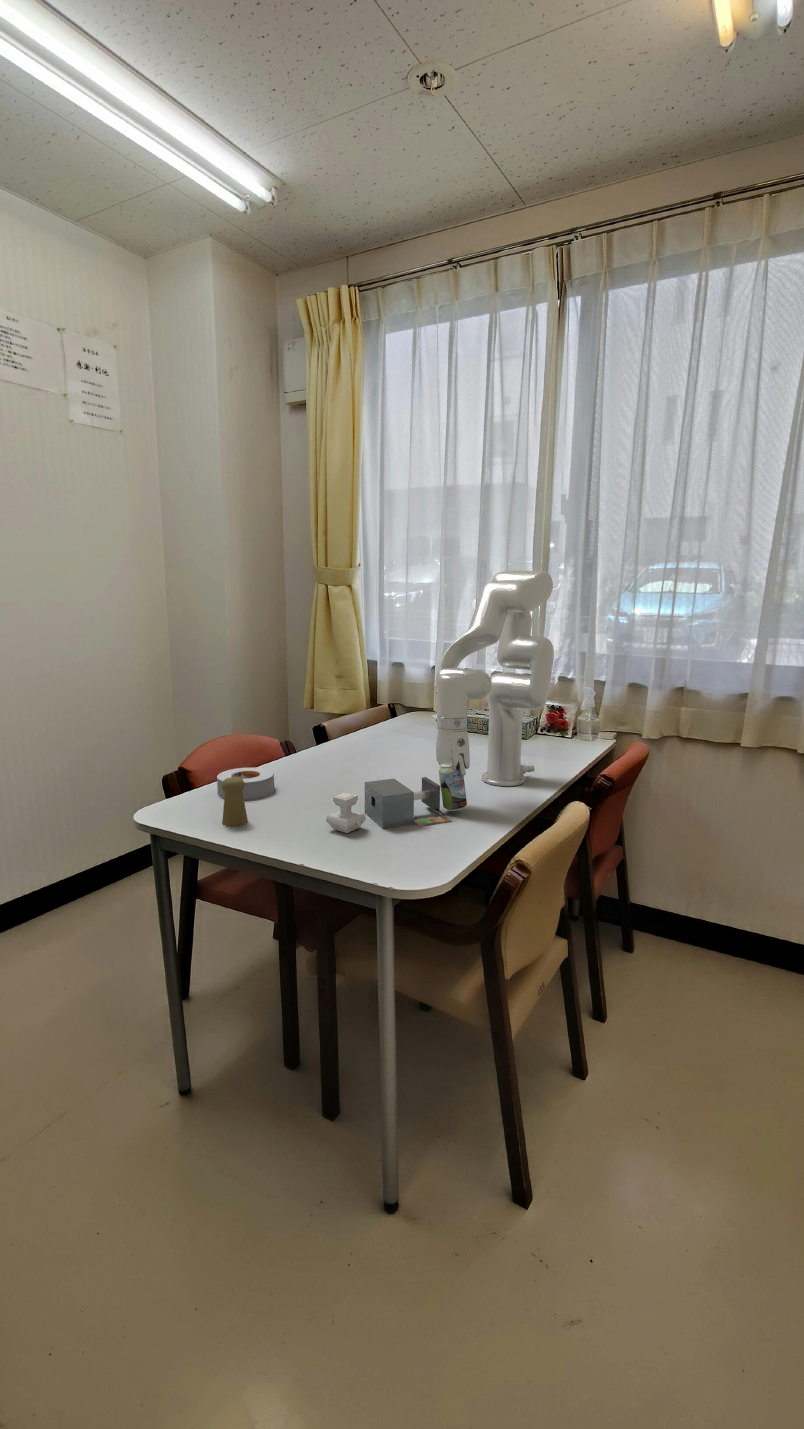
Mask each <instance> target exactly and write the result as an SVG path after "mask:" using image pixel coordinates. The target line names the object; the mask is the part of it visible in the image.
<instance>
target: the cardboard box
mask: <svg viewBox="0 0 804 1429" xmlns="http://www.w3.org/2000/svg"><path fill="white" fill-rule="evenodd" d="M450 822H452V820H451V818H448V817H447V815H442V816H438V817H430V818H422V819H419V820H414V824H415V825H416V826H418V827H425V826H431V825H439V824H445V823H450Z"/></svg>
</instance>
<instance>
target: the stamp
mask: <svg viewBox="0 0 804 1429" xmlns="http://www.w3.org/2000/svg"><path fill="white" fill-rule="evenodd" d="M358 800H359V798H358V794H352V793H347V792H342V793H340V794H338V795H335V796H333V797H332V802H333V803H334V805H335V806H336V807H339V808H340V810H338V811H335V812H332V813H331V814H328V815H327V816H326V819H325V822H327V824H328V825H329V826H330V827H331V828H332V830H336V831H339V832H341V833H345V834H348V833H351V832H353V831H355V830H357V829H360V827H361V826H362V824H363V823H364V822H365V821H366V819H367V818H366V814H365V813H362V812H358V811H355V810H352V807H353V806H355V805H356V804H357V802H358Z"/></svg>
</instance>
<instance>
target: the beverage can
mask: <svg viewBox="0 0 804 1429" xmlns="http://www.w3.org/2000/svg"><path fill="white" fill-rule="evenodd" d="M438 776H439V785H440V795H441V801H442V808H443V809H445V810H447V811H448V812H458V811H462V810H464V809H465V807H467V806H468V802H467V800H468V799H467V793H466V785H465V777H464V776H465V775H464V776H461V777H458V765H456V769H455V770H453V769H452V768H451V766H448V765H444V764H441V765H439V769H438Z"/></svg>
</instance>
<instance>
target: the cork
mask: <svg viewBox="0 0 804 1429" xmlns="http://www.w3.org/2000/svg"><path fill="white" fill-rule="evenodd" d="M222 789H223V791H224V792H225V797H224V798H223V808H222V809H223V810H222V825H223V826H224V825H226V826H225V827H228V826H229V828H230V827H231V828H233V827H234V826H236V827H242V826H244V824H245V825H246V824H248V823H249V819H248V814H247V810H246V809H247V808H246V803H245V800H244V797H243V792H242V791H243V790H244V781H243V779H242V778H239V777H230V778H227V779H225V780H224V781H223V783H222ZM236 827H234V828H236Z"/></svg>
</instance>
